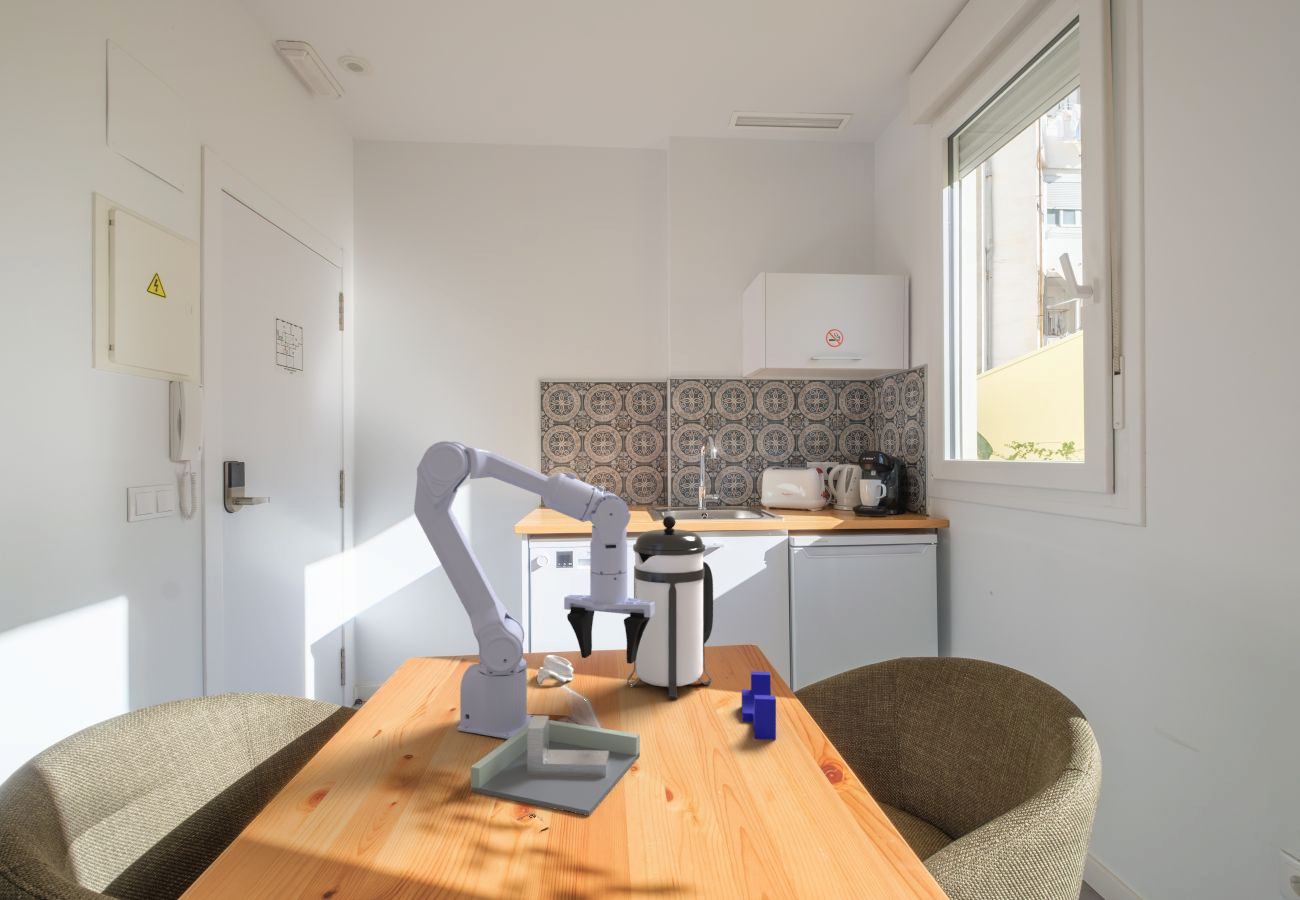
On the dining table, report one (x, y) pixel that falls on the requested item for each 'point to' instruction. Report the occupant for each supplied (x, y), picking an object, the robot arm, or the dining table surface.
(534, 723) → the brushed metal block
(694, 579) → the coffee press
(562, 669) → the whipped cream
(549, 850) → the dining table surface
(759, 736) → the cable clip
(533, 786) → the corner tray
